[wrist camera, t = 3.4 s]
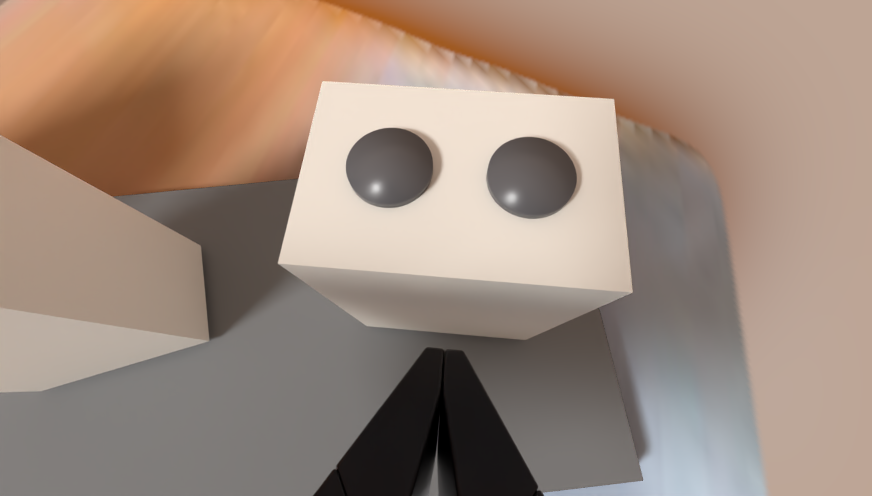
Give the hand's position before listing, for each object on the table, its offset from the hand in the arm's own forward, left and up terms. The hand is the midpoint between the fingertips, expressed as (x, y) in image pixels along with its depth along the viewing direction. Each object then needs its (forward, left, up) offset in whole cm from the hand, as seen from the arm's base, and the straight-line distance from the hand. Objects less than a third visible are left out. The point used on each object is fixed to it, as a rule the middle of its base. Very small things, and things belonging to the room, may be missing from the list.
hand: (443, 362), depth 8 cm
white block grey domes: (+2, -2, -5) cm, 6 cm away
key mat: (+5, +3, -7) cm, 9 cm away
